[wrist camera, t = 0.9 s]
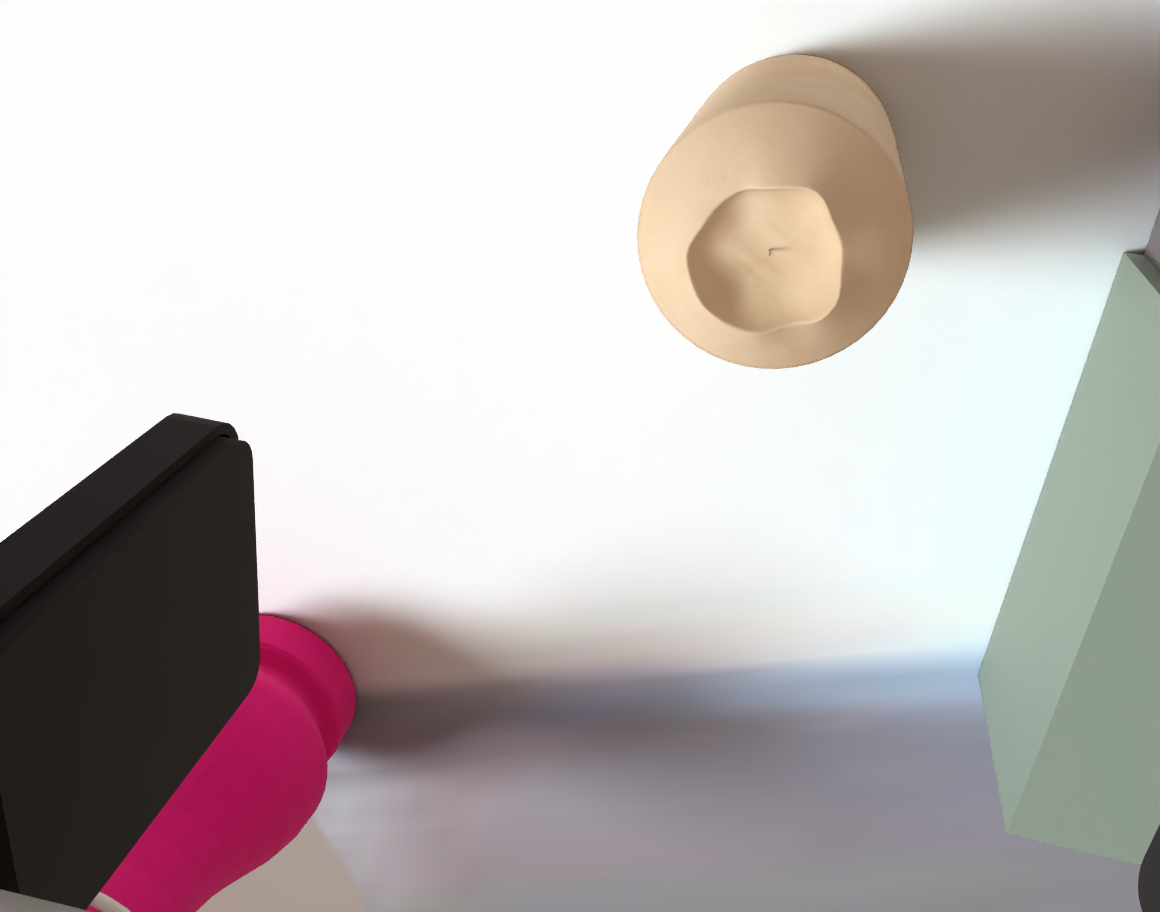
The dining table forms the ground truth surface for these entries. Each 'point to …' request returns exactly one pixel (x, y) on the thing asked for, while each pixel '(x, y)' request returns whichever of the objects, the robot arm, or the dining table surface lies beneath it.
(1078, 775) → the green boxy piece
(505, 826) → the dining table surface
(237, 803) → the pepper mill
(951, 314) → the dining table surface
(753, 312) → the candle
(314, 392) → the dining table surface
